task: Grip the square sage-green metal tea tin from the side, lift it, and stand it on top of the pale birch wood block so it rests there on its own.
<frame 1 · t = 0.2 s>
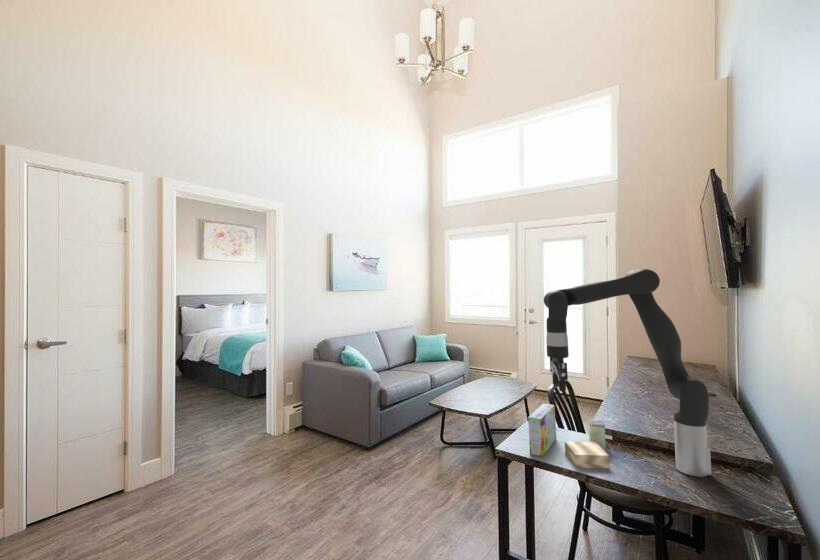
hand: (559, 387, 137), 29 cm above the table, tool pointing down, fingers open, 8 cm apart
birch block: (586, 461, 141), on the table
snack box: (543, 447, 154), on the table
tea tin: (597, 446, 153), on the table
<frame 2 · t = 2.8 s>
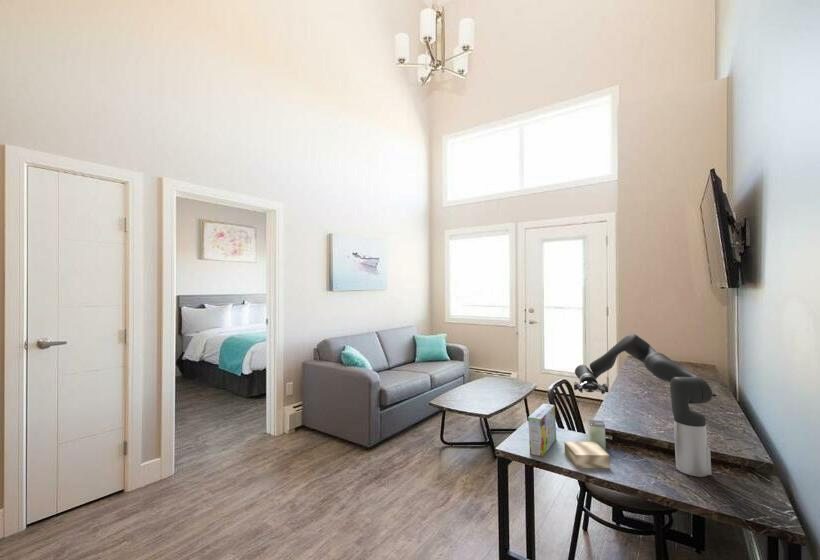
hand: (592, 391, 164), 20 cm above the table, tool horizontal, fingers open, 8 cm apart
nothing on the table moved.
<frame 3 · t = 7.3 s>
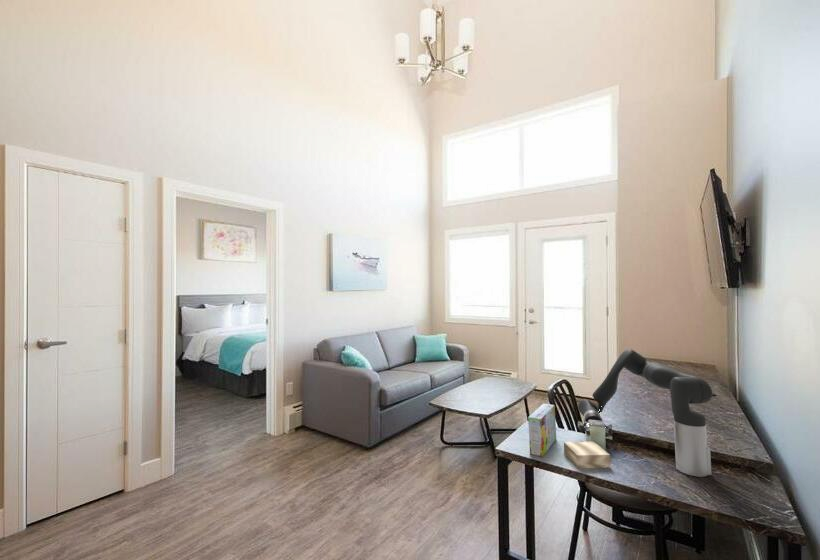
hand: (597, 434, 151), 6 cm above the table, tool horizontal, fingers closed on tea tin, 5 cm apart
tea tin: (597, 446, 153), on the table, touching gripper
everything else where it was.
when the fingers open (12 cm above the table, at t = 12.0 s): tea tin moves 1 cm, resting on birch block.
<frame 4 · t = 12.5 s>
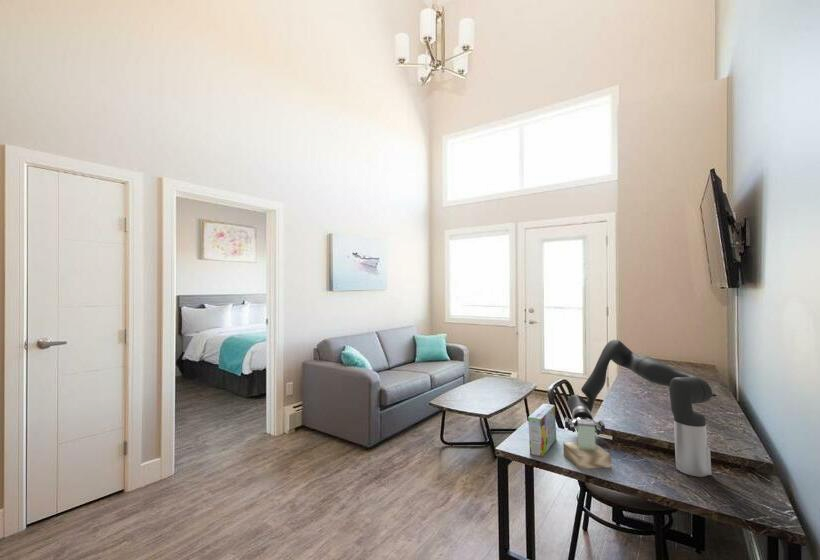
hand: (585, 431, 140), 12 cm above the table, tool horizontal, fingers open, 8 cm apart
birch block: (586, 461, 141), on the table, touching tea tin
tea tin: (586, 448, 141), point 5 cm above the table, touching birch block
everything else where it was.
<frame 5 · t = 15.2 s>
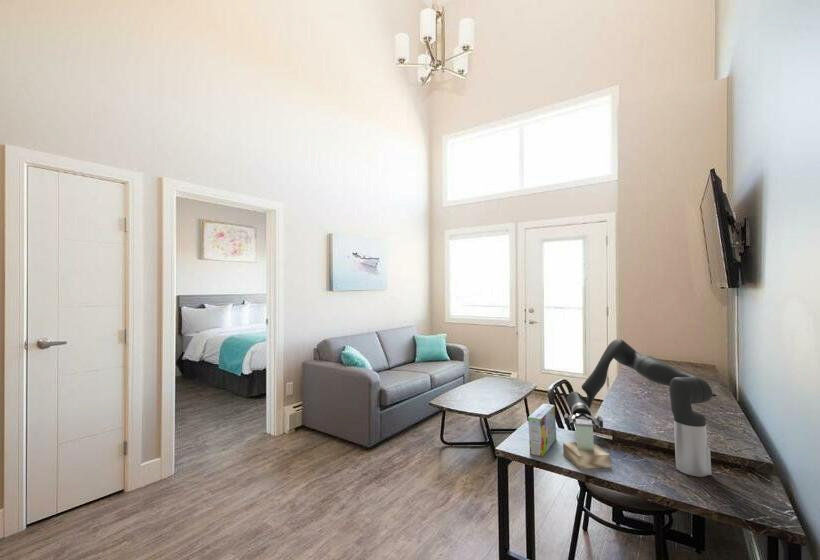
hand: (584, 426, 144), 12 cm above the table, tool horizontal, fingers open, 8 cm apart
birch block: (586, 461, 141), on the table
tea tin: (585, 447, 141), point 5 cm above the table
everything else where it was.
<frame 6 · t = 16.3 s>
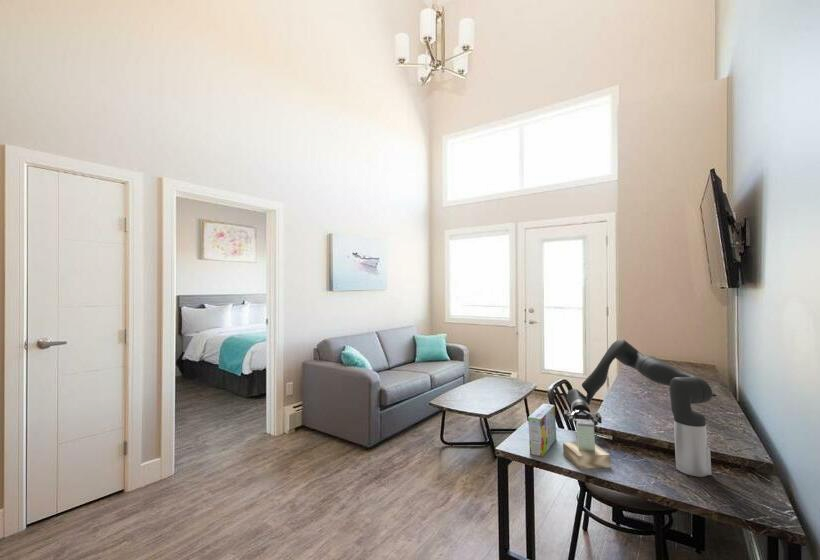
hand: (583, 422, 149), 12 cm above the table, tool horizontal, fingers open, 8 cm apart
birch block: (586, 461, 141), on the table, touching tea tin
tea tin: (585, 448, 141), point 5 cm above the table, touching birch block
everything else where it was.
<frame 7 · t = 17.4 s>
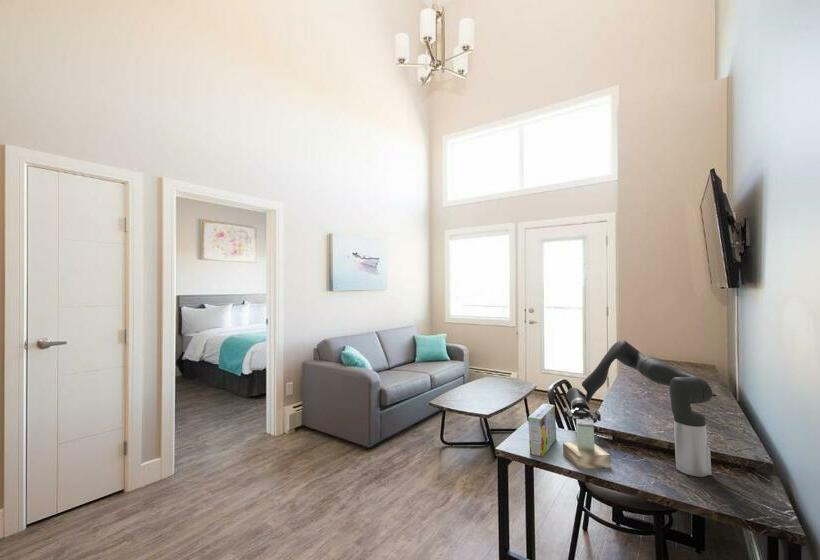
hand: (583, 419, 152), 12 cm above the table, tool horizontal, fingers open, 8 cm apart
birch block: (585, 461, 141), on the table
tea tin: (585, 448, 141), point 5 cm above the table
everything else where it was.
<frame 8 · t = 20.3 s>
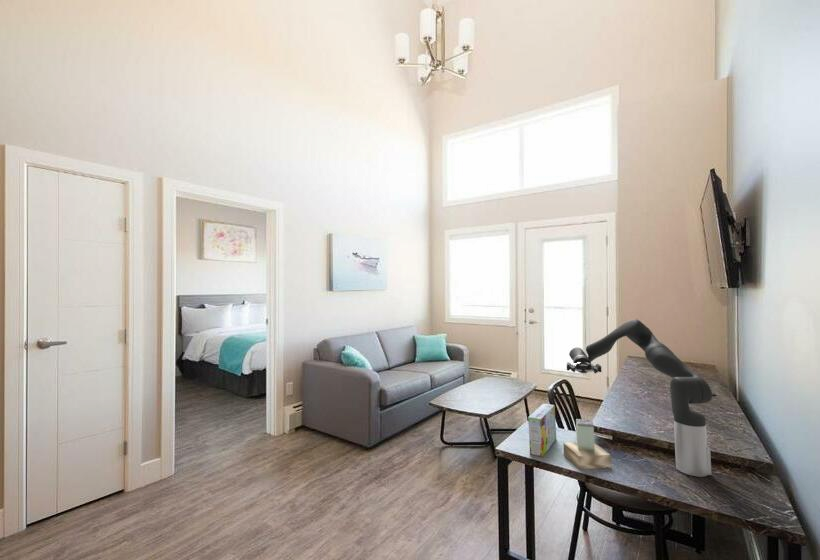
hand: (584, 370, 161), 30 cm above the table, tool horizontal, fingers open, 8 cm apart
nothing on the table moved.
at the end: tea tin inside the target area on the birch block (0.3 cm from its centre), point 5.0 cm above the birch block's base; tea tin tilted 0°; the gripper is holding nothing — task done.
